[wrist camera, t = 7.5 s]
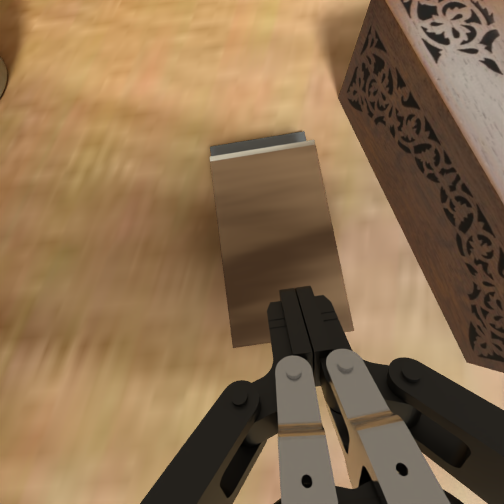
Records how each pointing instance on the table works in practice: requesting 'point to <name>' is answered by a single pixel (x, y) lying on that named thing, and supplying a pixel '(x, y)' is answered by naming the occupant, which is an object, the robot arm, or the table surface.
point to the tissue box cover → (440, 149)
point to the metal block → (274, 234)
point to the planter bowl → (2, 76)
